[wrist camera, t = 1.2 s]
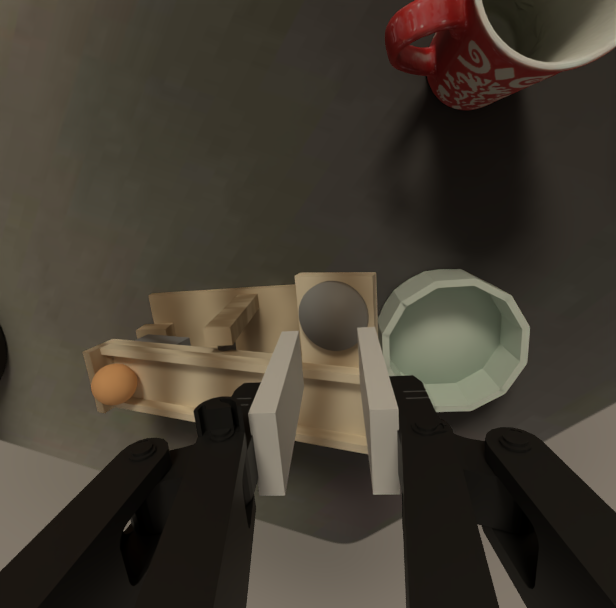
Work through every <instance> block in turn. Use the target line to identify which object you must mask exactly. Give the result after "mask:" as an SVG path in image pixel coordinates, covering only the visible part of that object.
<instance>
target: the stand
mask: <svg viewBox="0 0 616 608" xmlns="http://www.w3.org/2000/svg"><path fill="white" fill-rule="evenodd" d="M149 300H150V305H151V310H152V315H153V320H154V324H145V325H143V326H142V327H140V328H139V329H137V330H136V334H137V338H141V337H143V336H145V335H147V334H152V335H164V336H177V337H189V338H190V343H191V346H197V347H208V348H218V346H225V345H233V344H234V343H235V342H236V349H237V350H242V351H253V352H264V353H273V352H274V349H275V347H276V345H277V342H278V340H279V337H280V335H281V332H284V331H299V337H300V328H299V317H298V306H297V295H296V285H295V284H294V285H278V286H262V287H246V288H230V289H215V290H199V291H183V292H167V293H152V294H150V295H149ZM300 348H301V339H300ZM301 356H302V350H301Z"/></svg>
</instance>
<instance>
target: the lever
mask: <svg viewBox="0 0 616 608" xmlns="http://www.w3.org/2000/svg"><path fill="white" fill-rule="evenodd" d="M295 285H296V295H297V306H298V317H299V328H300V339H301V350H302V356H301V359H302V370H303V380H304V390H303V396H302V401H301V407H300V413H299V419H298V424H297V430H296V436H295V441H299V442H304V443H310V444H315V445H320V446H326V447H331V448H336V449H342V450H347V451H353V452H358V453H363V454H368V448H367V439H366V431H365V423H364V415H363V406H362V398H361V390H360V377H359V356H358V336H357V328H361V327H375V329H376V333H377V336H378V315H377V285H376V272H323V273H299V274H297V275H295ZM272 354H273V353H264V352H253V351H242V350H237V349H236V342H235V343H234V344H233V345H225V346H218V348H208V347H197V346H191V343H190V338H189V337H177V336H164V335H152V334H147V335H145V336H143V337H141V338H138V339H136V340H134V341H131V340H120V339H111V340H109V341H107V342H104V343H102V344H100V345H97V346H95V347H93V348H90V349H88V350H86V351H83V356H84V360H85V364H86V367H87V371H88V375H89V379H90V383H92V379H93V377H94V375H95V374H96V373H97V372H98V371H99V370H100V369H101V368H102V367H104V366H106V365H109V364H115V363H118V364H124V365H126V366H128V367H130V368H131V369H132V370H133V371H134V373H135V375H136V377H137V388H136V391H135V393H134V394H133V396H132V397H131V398H130V399H129V400H127V401H126V402H124V403H122V404H119V405H105V404H103V403H101V402H99V401H98V400H97V399H96V398H95V397H94V398H95V402H96V406H97V410H98V412H101V413H106V412H107V411H109V410H110V409H112V408H114V407H117V408H122V409H127V410H133V411H138V412H143V413H149V414H154V415H160V416H165V417H170V418H176V419H181V420H186V421H192V422H195V417H194V412H193V411H194V409H195V408H196V407H197V406H198V405H199V404H201V403H202V402H204V401H206V400H209V399H212V398H216V397H221V396H230V397H231V396H232V395H233V393H234V391H235V390H236V389H237V388H238V387H239V386H241V385H242V384H243V383H254V382H261V381H262V379H263V376H264V374H265V371H266V369H267V366H268V364H269V362H270V359H271V357H272Z"/></svg>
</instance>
